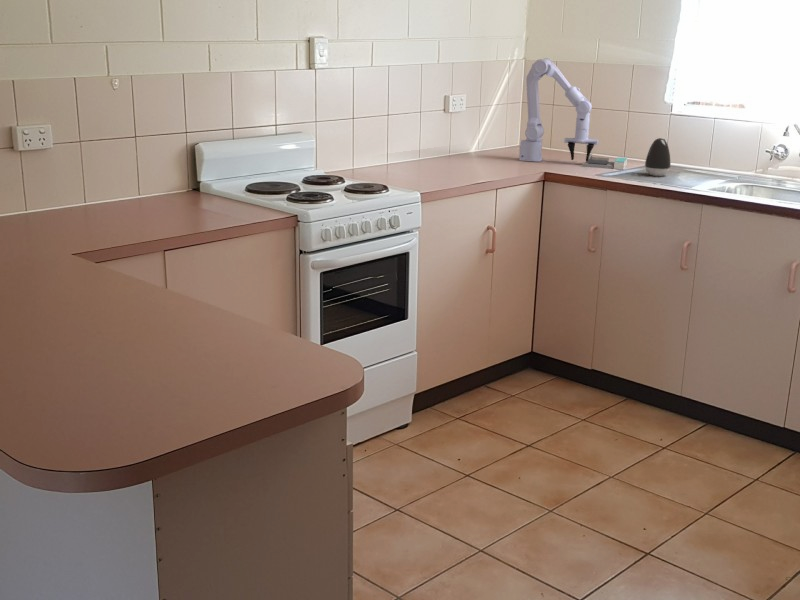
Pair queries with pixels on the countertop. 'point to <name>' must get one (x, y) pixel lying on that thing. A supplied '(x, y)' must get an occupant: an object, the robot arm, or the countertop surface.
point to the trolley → (598, 160)
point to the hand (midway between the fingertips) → (579, 160)
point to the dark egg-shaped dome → (658, 158)
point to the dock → (610, 164)
